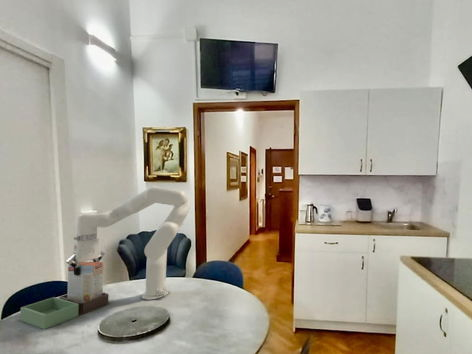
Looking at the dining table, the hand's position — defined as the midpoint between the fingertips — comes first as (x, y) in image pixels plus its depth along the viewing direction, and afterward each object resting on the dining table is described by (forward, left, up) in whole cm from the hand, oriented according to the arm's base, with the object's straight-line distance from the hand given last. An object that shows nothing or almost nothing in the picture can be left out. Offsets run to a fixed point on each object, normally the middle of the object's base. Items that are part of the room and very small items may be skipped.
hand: (86, 272), depth 127 cm
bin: (0, +13, -16) cm, 21 cm away
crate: (0, 0, -16) cm, 16 cm away
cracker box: (0, 0, -16) cm, 16 cm away
